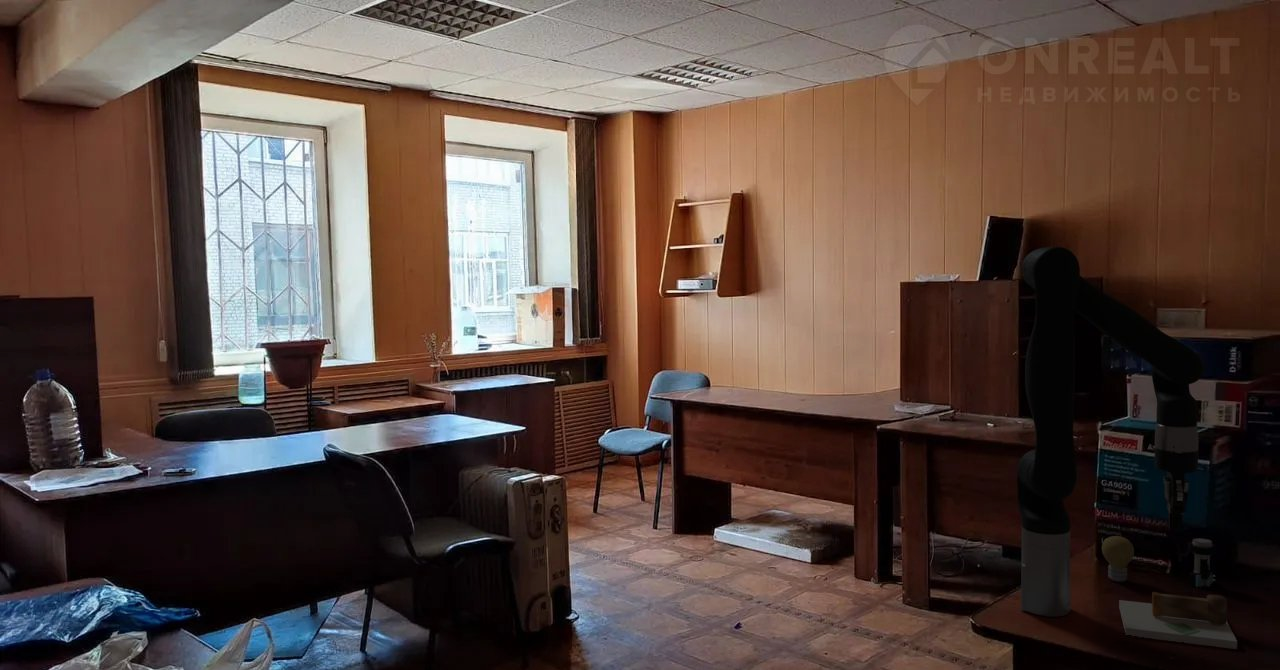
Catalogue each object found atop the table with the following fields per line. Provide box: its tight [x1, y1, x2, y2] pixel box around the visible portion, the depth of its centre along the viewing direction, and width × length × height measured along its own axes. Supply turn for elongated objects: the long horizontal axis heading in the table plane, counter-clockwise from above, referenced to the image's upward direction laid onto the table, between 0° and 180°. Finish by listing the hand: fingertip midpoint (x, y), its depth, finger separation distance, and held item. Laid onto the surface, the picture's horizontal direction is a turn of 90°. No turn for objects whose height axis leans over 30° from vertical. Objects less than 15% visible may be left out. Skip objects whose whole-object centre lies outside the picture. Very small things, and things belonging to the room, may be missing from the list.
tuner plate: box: [1118, 599, 1238, 650], centre depth 172 cm, size 18×15×2 cm
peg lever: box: [1151, 591, 1228, 624], centre depth 171 cm, size 12×3×5 cm, turn 66°
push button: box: [1187, 537, 1218, 588], centre depth 193 cm, size 7×5×10 cm
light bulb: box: [1101, 535, 1135, 583], centre depth 197 cm, size 6×6×10 cm
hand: (1175, 530), depth 178 cm, fingers closed
